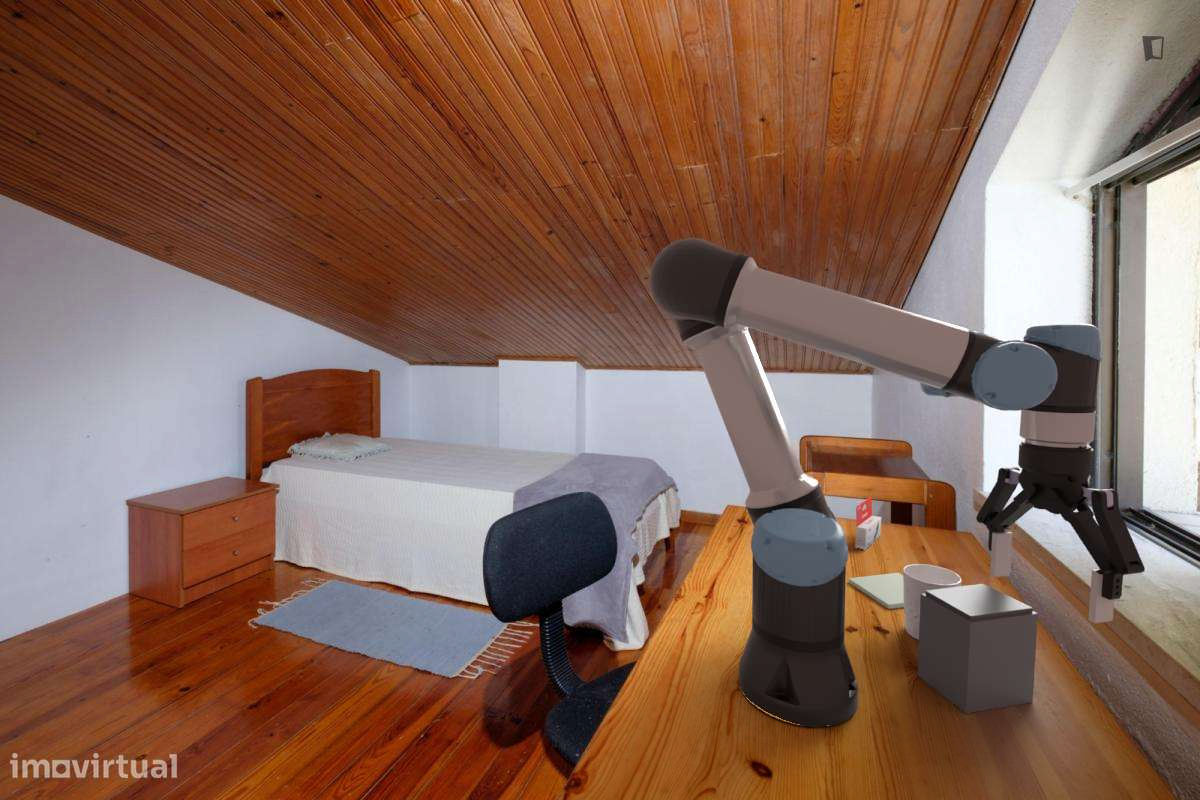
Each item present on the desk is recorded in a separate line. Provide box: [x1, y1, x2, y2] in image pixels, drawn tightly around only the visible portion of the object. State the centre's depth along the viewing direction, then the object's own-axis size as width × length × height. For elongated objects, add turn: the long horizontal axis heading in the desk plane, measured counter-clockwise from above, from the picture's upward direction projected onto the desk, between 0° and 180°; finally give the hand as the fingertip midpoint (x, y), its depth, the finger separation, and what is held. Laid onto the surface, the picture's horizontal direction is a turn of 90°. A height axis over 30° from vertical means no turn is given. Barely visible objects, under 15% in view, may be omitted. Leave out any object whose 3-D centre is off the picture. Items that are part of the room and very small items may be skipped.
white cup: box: [902, 563, 962, 641], centre depth 86 cm, size 8×8×10 cm
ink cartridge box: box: [854, 496, 882, 551], centre depth 125 cm, size 2×11×10 cm, turn 137°
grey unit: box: [917, 583, 1039, 714], centre depth 72 cm, size 11×8×13 cm
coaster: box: [848, 572, 904, 610], centre depth 101 cm, size 11×11×1 cm
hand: (1045, 596), depth 73 cm, fingers open, 13 cm apart
